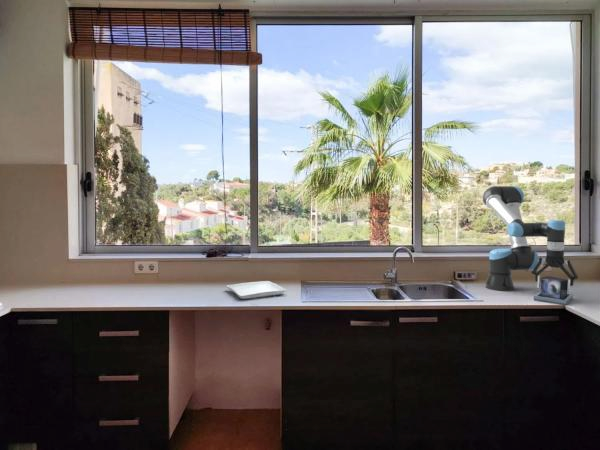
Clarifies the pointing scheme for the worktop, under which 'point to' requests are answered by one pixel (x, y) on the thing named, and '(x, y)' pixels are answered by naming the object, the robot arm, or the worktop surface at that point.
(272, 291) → the square plate
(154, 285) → the worktop surface
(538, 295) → the tray
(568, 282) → the robot arm
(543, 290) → the small box
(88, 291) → the worktop surface
